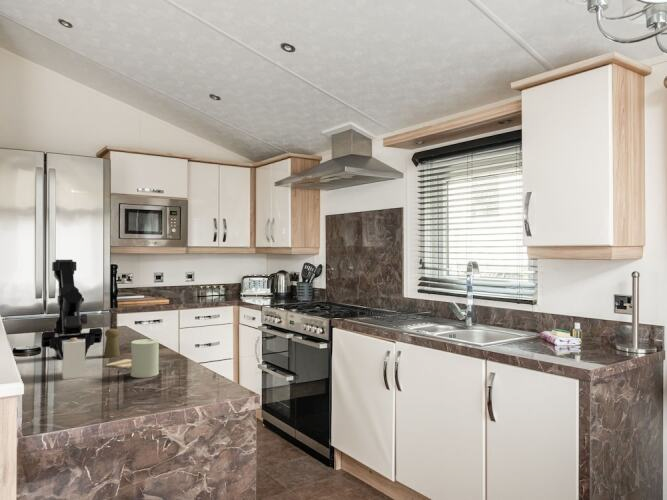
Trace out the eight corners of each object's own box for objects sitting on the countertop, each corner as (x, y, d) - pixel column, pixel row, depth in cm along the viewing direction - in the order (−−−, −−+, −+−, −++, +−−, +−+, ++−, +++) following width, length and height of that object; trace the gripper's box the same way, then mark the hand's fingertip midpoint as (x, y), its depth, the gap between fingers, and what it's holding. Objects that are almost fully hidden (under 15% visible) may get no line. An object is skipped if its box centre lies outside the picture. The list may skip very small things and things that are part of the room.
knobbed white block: (61, 375, 175) (62, 337, 175) (82, 372, 178) (83, 335, 178) (63, 379, 170) (63, 340, 169) (84, 377, 173) (85, 338, 173)
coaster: (105, 365, 189) (105, 364, 189) (125, 360, 198) (125, 358, 198) (127, 368, 186) (127, 366, 186) (146, 362, 195) (146, 361, 195)
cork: (114, 358, 202) (114, 330, 202) (100, 357, 204) (100, 329, 204) (123, 354, 208) (123, 328, 208) (110, 354, 209) (110, 327, 209)
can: (164, 372, 180) (164, 338, 180) (146, 378, 172) (147, 343, 172) (143, 370, 183) (143, 337, 183) (124, 376, 175) (125, 341, 175)
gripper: (41, 308, 172) (43, 346, 163) (102, 305, 182) (106, 341, 173) (40, 328, 179) (41, 365, 170) (98, 324, 189) (102, 359, 180)
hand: (73, 357), depth 173 cm, fingers closed on knobbed white block, 6 cm apart
